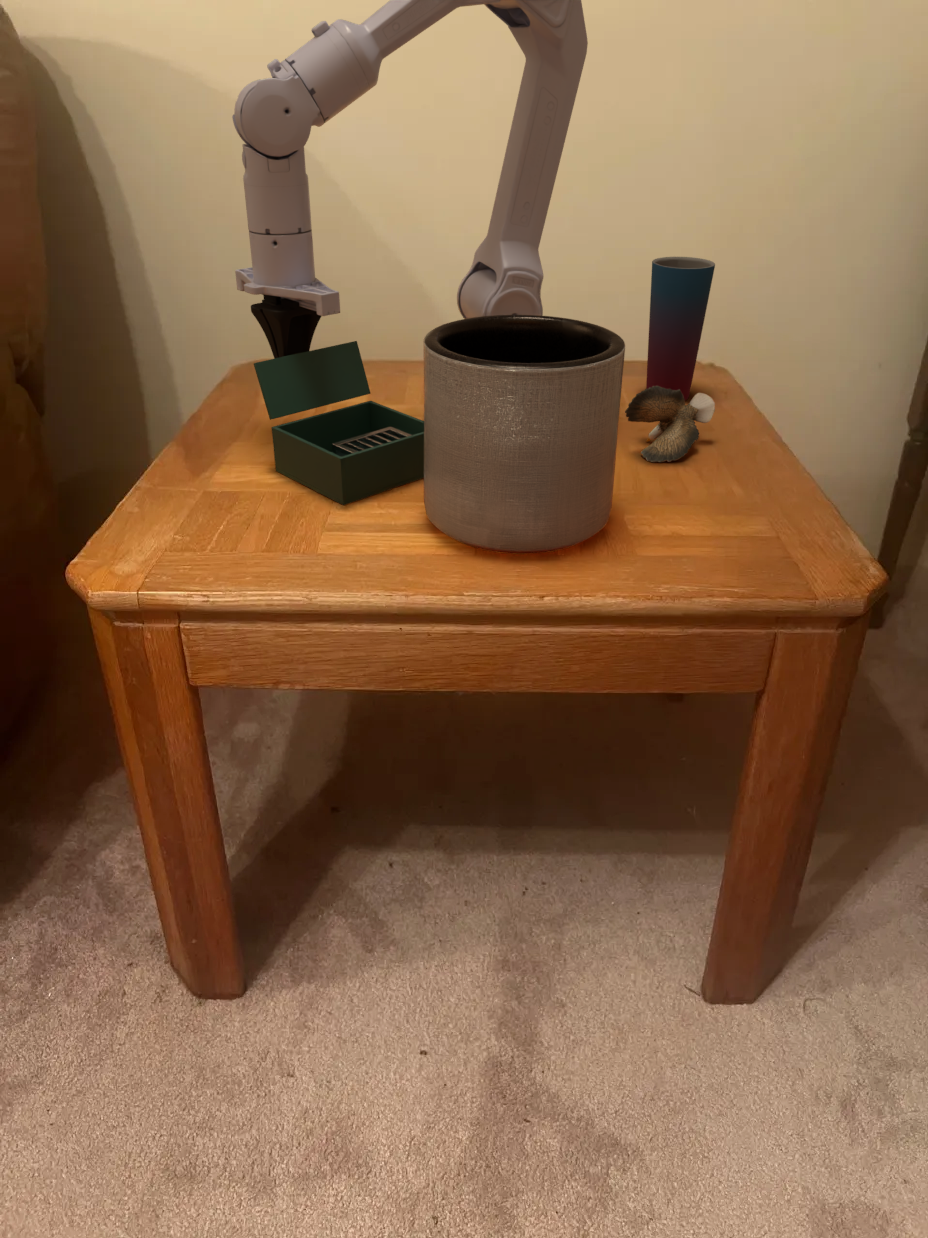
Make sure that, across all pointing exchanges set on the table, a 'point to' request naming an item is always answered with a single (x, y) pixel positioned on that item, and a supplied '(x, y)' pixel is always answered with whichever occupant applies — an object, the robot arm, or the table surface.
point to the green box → (358, 474)
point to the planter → (520, 430)
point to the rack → (367, 441)
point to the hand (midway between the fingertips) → (293, 376)
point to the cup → (676, 320)
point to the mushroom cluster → (669, 420)
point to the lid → (312, 379)
